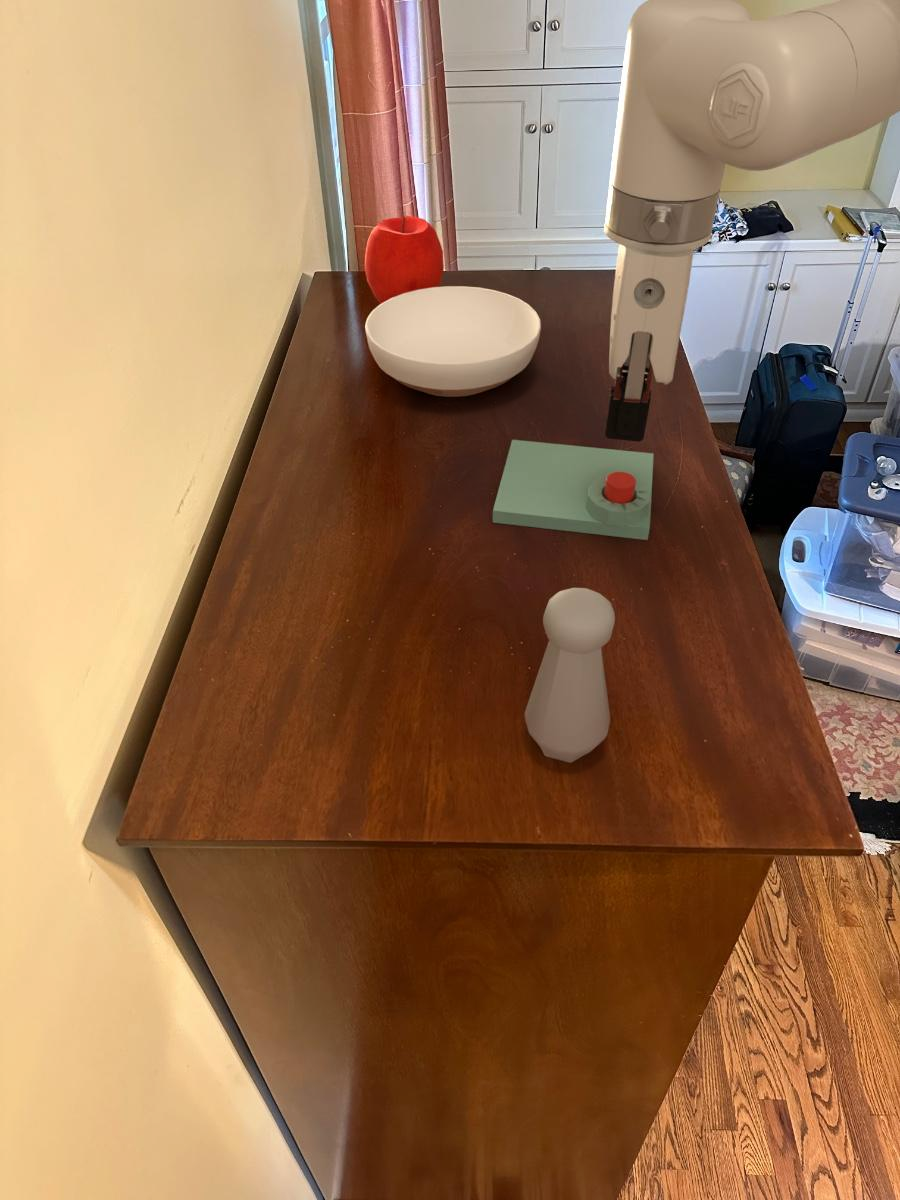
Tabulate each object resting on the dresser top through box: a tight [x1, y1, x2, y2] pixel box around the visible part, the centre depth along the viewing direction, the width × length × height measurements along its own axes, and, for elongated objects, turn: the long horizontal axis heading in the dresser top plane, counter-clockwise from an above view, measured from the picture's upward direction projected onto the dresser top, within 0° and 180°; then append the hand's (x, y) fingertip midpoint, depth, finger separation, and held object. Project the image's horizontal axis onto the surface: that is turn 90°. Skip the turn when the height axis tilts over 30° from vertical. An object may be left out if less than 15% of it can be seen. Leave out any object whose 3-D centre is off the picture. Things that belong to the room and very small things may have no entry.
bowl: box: [364, 285, 542, 398], centre depth 97 cm, size 20×20×6 cm
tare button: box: [604, 472, 636, 504], centre depth 76 cm, size 3×3×2 cm
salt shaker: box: [524, 587, 616, 764], centre depth 56 cm, size 6×6×13 cm
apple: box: [364, 215, 445, 305], centre depth 107 cm, size 10×10×12 cm
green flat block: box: [492, 439, 654, 541], centre depth 81 cm, size 14×12×3 cm
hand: (624, 434), depth 73 cm, fingers closed
